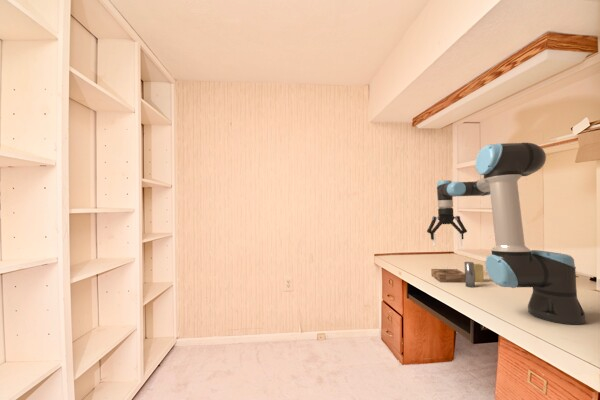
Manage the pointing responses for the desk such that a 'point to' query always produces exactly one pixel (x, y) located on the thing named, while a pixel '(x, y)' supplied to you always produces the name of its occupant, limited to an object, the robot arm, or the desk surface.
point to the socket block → (448, 275)
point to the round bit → (469, 274)
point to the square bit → (478, 273)
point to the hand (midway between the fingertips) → (447, 245)
